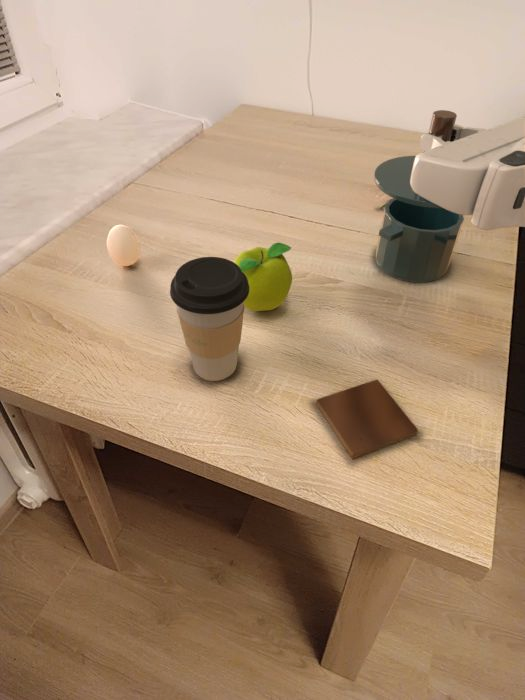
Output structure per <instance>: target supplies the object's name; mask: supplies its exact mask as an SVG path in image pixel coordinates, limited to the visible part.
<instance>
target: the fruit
mask: <svg viewBox="0 0 525 700" xmlns="http://www.w3.org/2000/svg"><path fill="white" fill-rule="evenodd" d="M291 249H292V247H291V246H290V245H288V244H285V243H282V242H275V243H273V244H272V245H270V246H269V248H268V247H267V248H266V247H262V246H256V247H253V248H251V249H247V250H244V251H242V252H240V253H239V254H238V255H237V256H236V258H235V259H234V261H233V262H234V263H235V264H237V265H238V266H239V267H240V269H241V271H242V272H243V273H244V274H245V276H246V277H247V280H248V284H249V294H248V296H247V298H246V299H245V301H244V302H243V304H244V308H246V309H247V310H249V311H252V312H263V311H264V312H266V311H272V310H275V309H276V308H279V306H281V305H282V304H283V303H284V301H285V300H286V298H287V297H288V295H289V292H290V290H291V286H292V283H293V274H292V271H291V267H290V265H289V263H288V261H287V259H286V257H285V256H284V255H283V254H285V253H287V252H289V251H291Z"/></svg>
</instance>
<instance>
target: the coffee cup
mask: <svg viewBox="0 0 525 700" xmlns="http://www.w3.org/2000/svg"><path fill="white" fill-rule="evenodd" d="M169 294H170V295H169V296H170V298H171V300H172V301H173V303H174V304H175V305H176V313H177V316H178V321H179V324H180V328H181V331H182V335H183V339H184V342H185V345H186V347H187V349H188V353H189V357H190V360H191V364H192V367H193V370H194V372H195V373H196V374H197V376H198V377H200V378H201V379H204V380H206V381H210V382H220V381H223V380H225V379H227V378H229V377H230V376H231V375H233V374H234V372H235V371H236V369H237V365H238V358H239V350H240V344H241V341H242V331H243V323H244V314H245V313H244V312H245V306H244V304H243V302H244V301H245V299H246V298H247V296H248V294H249V284H248V280H247V277H246V276H245V274H244V273H243V272H242V271H241V269H240V267H239V266H238V265H237V264H235V263H234V261H232V260H230V259H228V258H224V257H220V256H219V257H218V256H202V257H197V258H194V259H191V260H189V261H187V262H185V263H183V264H182V265H181V266H179V268H178V269H177V270H176V272H175V275H174V276H173V278H172V279H171V282H170V288H169Z"/></svg>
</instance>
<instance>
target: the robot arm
mask: <svg viewBox="0 0 525 700" xmlns="http://www.w3.org/2000/svg"><path fill="white" fill-rule="evenodd" d="M442 136H443V135H441V134H438V133H435V132H429V131H428V132H425V133H423V134H422V135H421V136H420V140H419V149H420V150H421V151H422V152H419V153H417V154H416V155H415V156H416V157H415V160H414V164H413V168H412V173H411V178H410V185H411V187H412V190H413V191H414V192H415V193H417V194H418V195H420V196H421V197H423V198H425V199H427V200H429V201H430V202H432V203H434V204H436V205H438V206H440V207H442V208H444V209H446V210H449V211H451V212H454V213H457V214H460V215H463V216H471V220H470V223H471V225H472V226H474V227H476V228H478V229H480V230H483V231H493V230H494V231H495V230H499V229H505V228H513V227H519V228H520V227H521V228H525V116H521V117H519V118H515V119H513V120H510V121H506V122H503V123H502V124H499V125H496V126H493V127H490V128H486V129H485V128H480V127H479V128H478V127H469V126H467V127H465V126H462V125H459V124H456V123H455V124H454V128H453V132H452V136H451V140H450V141H447V142H444V141H443V140H442Z"/></svg>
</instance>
